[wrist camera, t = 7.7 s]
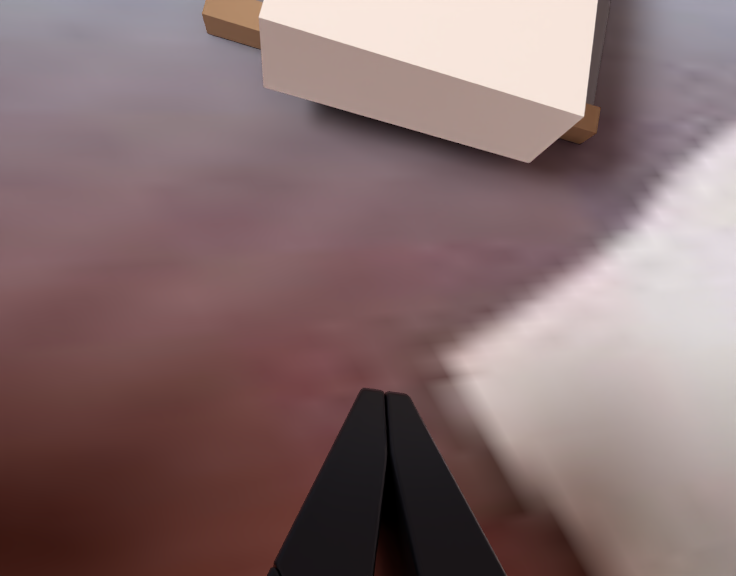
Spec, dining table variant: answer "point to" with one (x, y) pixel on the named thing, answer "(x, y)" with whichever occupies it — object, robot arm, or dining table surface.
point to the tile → (439, 65)
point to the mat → (241, 24)
